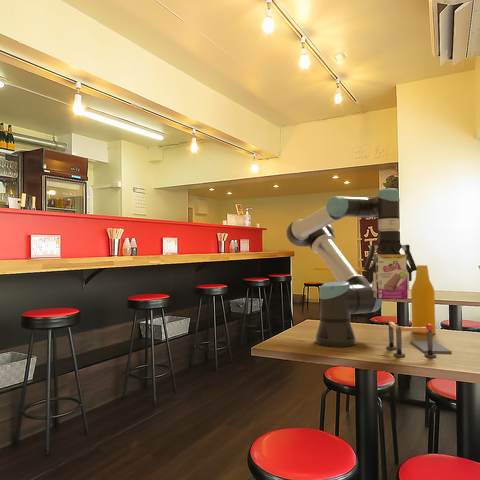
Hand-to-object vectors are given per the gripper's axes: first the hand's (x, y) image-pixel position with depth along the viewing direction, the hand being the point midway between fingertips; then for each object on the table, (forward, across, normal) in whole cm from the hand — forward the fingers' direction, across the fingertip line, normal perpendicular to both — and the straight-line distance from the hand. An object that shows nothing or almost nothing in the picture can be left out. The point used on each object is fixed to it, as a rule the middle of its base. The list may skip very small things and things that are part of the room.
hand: (390, 290), depth 144 cm
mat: (+21, +14, 0) cm, 25 cm away
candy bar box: (+3, 0, 0) cm, 3 cm away
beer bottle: (+21, +22, +28) cm, 41 cm away
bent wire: (+21, +4, -6) cm, 22 cm away
